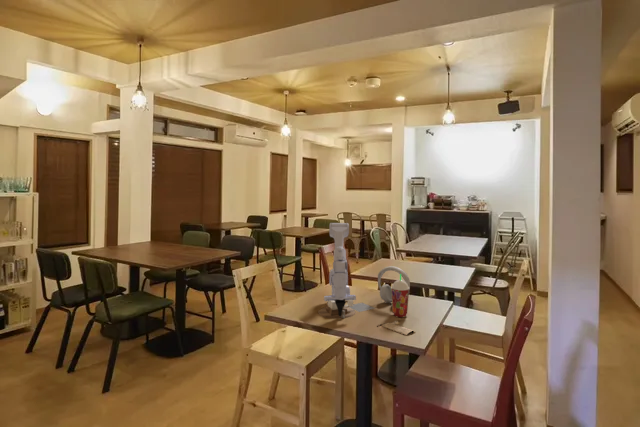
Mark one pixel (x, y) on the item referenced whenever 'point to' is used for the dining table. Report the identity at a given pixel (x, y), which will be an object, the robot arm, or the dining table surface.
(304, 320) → the dining table surface
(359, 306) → the board
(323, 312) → the turntable
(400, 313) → the smoothie
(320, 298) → the dining table surface
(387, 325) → the newspaper
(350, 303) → the beige upright block
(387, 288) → the headphones
